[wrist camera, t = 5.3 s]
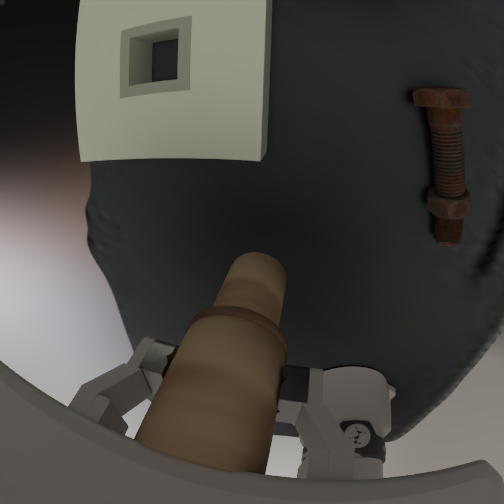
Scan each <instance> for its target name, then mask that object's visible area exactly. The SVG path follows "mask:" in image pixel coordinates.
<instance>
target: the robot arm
mask: <svg viewBox="0 0 504 504" xmlns="http://www.w3.org/2000/svg"><path fill="white" fill-rule="evenodd" d="M178 348H179V346H178V345H174V344H170V343H167V342H163V341H159V340H156V339H152V338H149V337H145V338H144V339H142V341H141V342H140V344H139V346H138V347H137V349H136V350H135V352H134V354H133V355H132V357H131V358H130V360H129V362H128V363H127V364H125V363H124V364H122V365H120V366H118V367H116V368H114V369H113V370H111V371H108V372H107V373H105V374H103V375H101V376H99V377H97V378H95V379H93V380H91V381H89V382H87V383H85V384H83V385H82V386H81V388H80V389H79V391H78V392H77V394H76V395H75V397H74V398H73V400H72V401H71V403H70V404H69V406H68V407H67V406H65V405H63V404H62V403H60V402H58V401H57V400H55V399H54V398H52V397H50V396H49V395H47V394H46V393H44V392H42V391H41V390H40V389H38V388H37V387H35V386H34V385H32V384H31V383H29V382H28V381H26V380H25V379H24V378H22V377H21V376H20V375H18V374H17V373H15V372H14V371H13V370H11V369H10V368H9V367H8V366H6V365H5V364H4V363H3V362H2V361H0V504H504V483H503V479H502V477H501V476H500V474H499V473H498V472H497V471H496V470H495V469H494V468H493V467H492V466H491V465H490V464H489V463H488V462H487V461H485V460H477V461H474V462H470V463H467V464H463V465H459V466H455V467H451V468H446V469H442V470H437V471H432V472H427V473H421V474H414V475H407V476H399V477H390V478H383V466H382V464H383V463H384V462H385V455H386V448H385V440H384V439H383V438H384V437H385V436H386V435H387V434H388V433H389V432H390V430H391V406H390V400H391V399H392V398H393V397H394V396H395V395H396V389H395V388H394V387H392V386H390V385H388V383H387V381H386V379H385V377H384V376H383V375H382V374H381V373H380V372H378V371H376V370H373V369H370V368H365V367H340V368H334V369H330V370H326V371H323V369H316V368H309V367H299V366H290V365H284V369H283V375H282V381H281V388H280V393H279V399H278V405H277V415H276V420H275V421H277V422H283V423H290V424H293V425H295V426H296V428H297V431H298V432H299V436H300V442H301V444H302V446H303V447H304V448H303V456H302V464H301V465H300V467H299V468H298V474H297V478H290V477H280V476H271V475H264V474H258V473H252V472H246V471H238V472H230V471H225V470H221V469H216V468H212V467H208V466H204V465H200V464H197V463H193V462H190V461H186V460H183V459H180V458H176V457H173V456H170V455H167V454H164V453H161V452H158V451H156V450H153V449H150V448H147V447H145V446H142V445H140V443H139V442H138V441H137V440H135V439H132V438H130V437H127V436H125V433H126V431H127V429H128V425H127V424H126V422H125V421H124V420H123V418H122V417H121V416H123V415H124V414H125V413H127V412H128V411H129V410H131V409H132V408H134V407H135V406H137V405H138V404H139V403H141V402H142V401H144V400H145V399H147V398H148V397H149V396H151V395H152V394H156V393H157V391H158V389H159V386H160V384H161V382H162V380H163V378H164V376H165V374H166V372H167V370H168V368H169V366H170V364H171V362H172V360H173V358H174V356H175V354H176V352H177V350H178Z"/></svg>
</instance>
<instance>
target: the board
mask: <svg viewBox="0 0 504 504" xmlns="http://www.w3.org/2000/svg"><path fill="white" fill-rule="evenodd" d="M271 29H272V0H80V8H79V16H78V25H77V37H76V56H75V97H76V117H77V129H78V139H79V140H78V141H79V150H80V158H81V162H86V161H100V160H117V159H142V158H206V159H232V160H250V161H261V160H262V158H263V157H264V155H265V154H266V152H267V133H268V110H269V85H270V58H271ZM174 39H178V79H176V80H167V81H159V82H152V47H153V43H156V42H162V41H167V40H174Z"/></svg>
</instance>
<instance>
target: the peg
mask: <svg viewBox="0 0 504 504" xmlns="http://www.w3.org/2000/svg"><path fill="white" fill-rule="evenodd" d="M286 281H287V277H286V272H285V270H284V268H283V266H282V265H281V264H280V263H279V262H278V261H277V260H276V259H275V258H273V257H271V256H269V255H267V254H264V253H259V252H251V253H246V254H244V255H241V256H240V257H238V258H237V259H236V260H235V261H234V262H233V264H232V266H231V268H230V270H229V272H228V274H227V276H226V278H225V281H224V283H223V285H222V287H221V289H220V291H219V293H218V295H217V298H216V300H215V302H214V304H213V306H212V307H209V308H207V309H204V310H202V311H200V312H199V313H197V314H196V315H195V316H194V317H193V319H192V320H191V322H190V324H189V326H188V328H187V330H186V333H185V337H184V339H183V341H182V342H181V344H180V346H179V348H178V350H177V352H176V354H175V356H174V358H173V360H172V362H171V364H170V366H169V368H168V370H167V372H166V374H165V376H164V378H163V380H162V382H161V384H160V386H159V389H158V391H157V393H156V395H155V397H154V399H153V401H152V403H151V405H150V407H149V409H148V411H147V413H146V415H145V417H144V419H143V421H142V423H141V426H140V428H139V430H138V432H137V434H136V436H135V438H134V439H135V440H137V441H138V442H139V443H140V445H142V446H145V447H147V448H150V449H153V450H156V451H158V452H161V453H164V454H167V455H170V456H173V457H176V458H180V459H183V460H186V461H190V462H193V463H197V464H200V465H204V466H208V467H212V468H216V469H221V470H225V471H230V472H238V471H246V472H252V473H258V474H264V475H265V472H266V466H267V462H268V457H269V452H270V447H271V442H272V436H273V431H274V426H275V420H276V415H277V405H278V399H279V393H280V388H281V381H282V375H283V369H284V365H285V364H286V360H287V353H288V343H287V340H286V337H285V335H284V333H283V332H282V331H281V329H280V328H279V323H280V317H281V311H282V306H283V300H284V293H285V287H286Z"/></svg>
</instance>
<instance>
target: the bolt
mask: <svg viewBox="0 0 504 504" xmlns="http://www.w3.org/2000/svg"><path fill="white" fill-rule="evenodd" d="M412 94H413V99H414V105H415V106H420V107H426V112H427V119H428V123H429V127H430V131H432V132H430V134H431V135H432V136H431V138H432V139H431V141H432V143H431V144H432V149H433V150H432V152H433V154H432V156H433V160H434V161H433V163H434V164H433V167H434V168H433V170H434V184H435V185H433V186H431V187H430V188H429V192H428V210H429V211H430V212H431V213H433V214H434V216H435V217H434V236H433V237H434V238H435V240H436V243H437V244H439V245H440V246H453V247H456V246H457V245H459V244H460V243H461V238H462V229H463V218H464V217H466V216H467V215H469V214H470V192H469V191H468V190H467V189H466V188H465V172H464V171H465V165H464V164H465V161H464V151H463V150H464V147H463V146H464V143H463V142H464V140H463V132H462V131H463V127H462V126H463V118H462V109H461V108H471V106H470V99H469V93H468V90H467V89H464V88H454V87H419V88H413V92H412Z"/></svg>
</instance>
